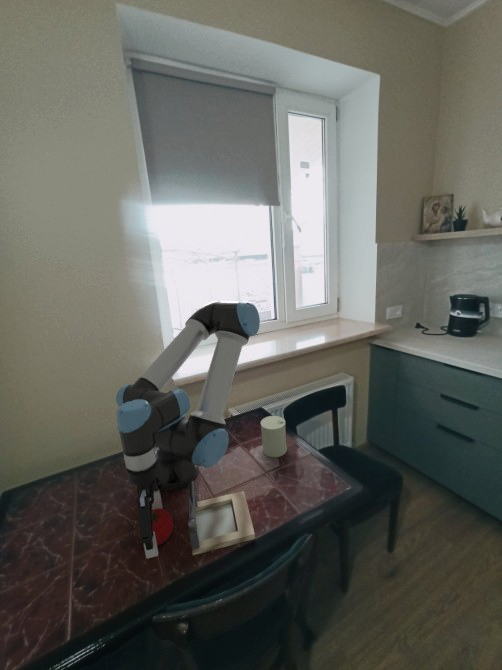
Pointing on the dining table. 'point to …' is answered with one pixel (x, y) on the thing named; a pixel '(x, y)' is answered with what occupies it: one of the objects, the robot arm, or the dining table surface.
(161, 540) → the tomato
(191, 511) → the grey curved bar
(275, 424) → the can
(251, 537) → the beige flat square frame
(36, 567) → the dining table surface
